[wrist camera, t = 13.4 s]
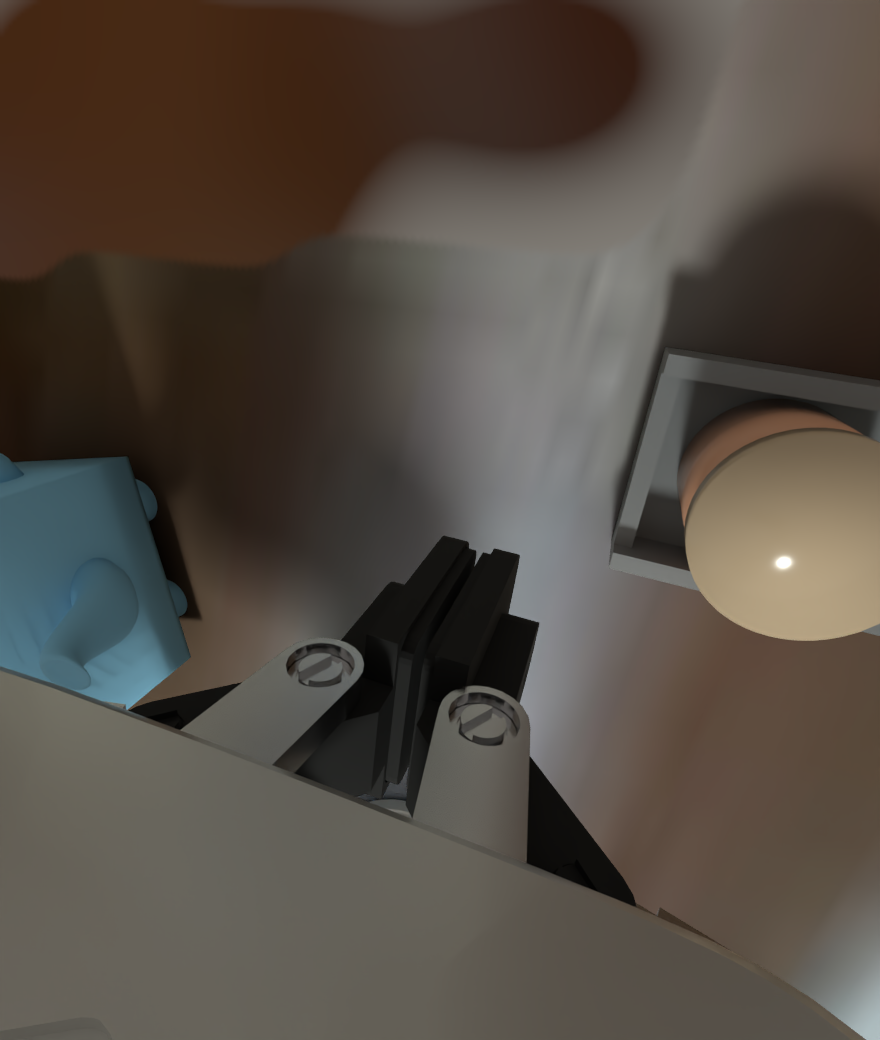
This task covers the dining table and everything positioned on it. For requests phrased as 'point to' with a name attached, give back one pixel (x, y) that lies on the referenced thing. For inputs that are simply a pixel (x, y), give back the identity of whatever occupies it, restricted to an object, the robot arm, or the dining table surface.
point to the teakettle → (85, 579)
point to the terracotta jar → (784, 520)
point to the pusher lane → (682, 414)
